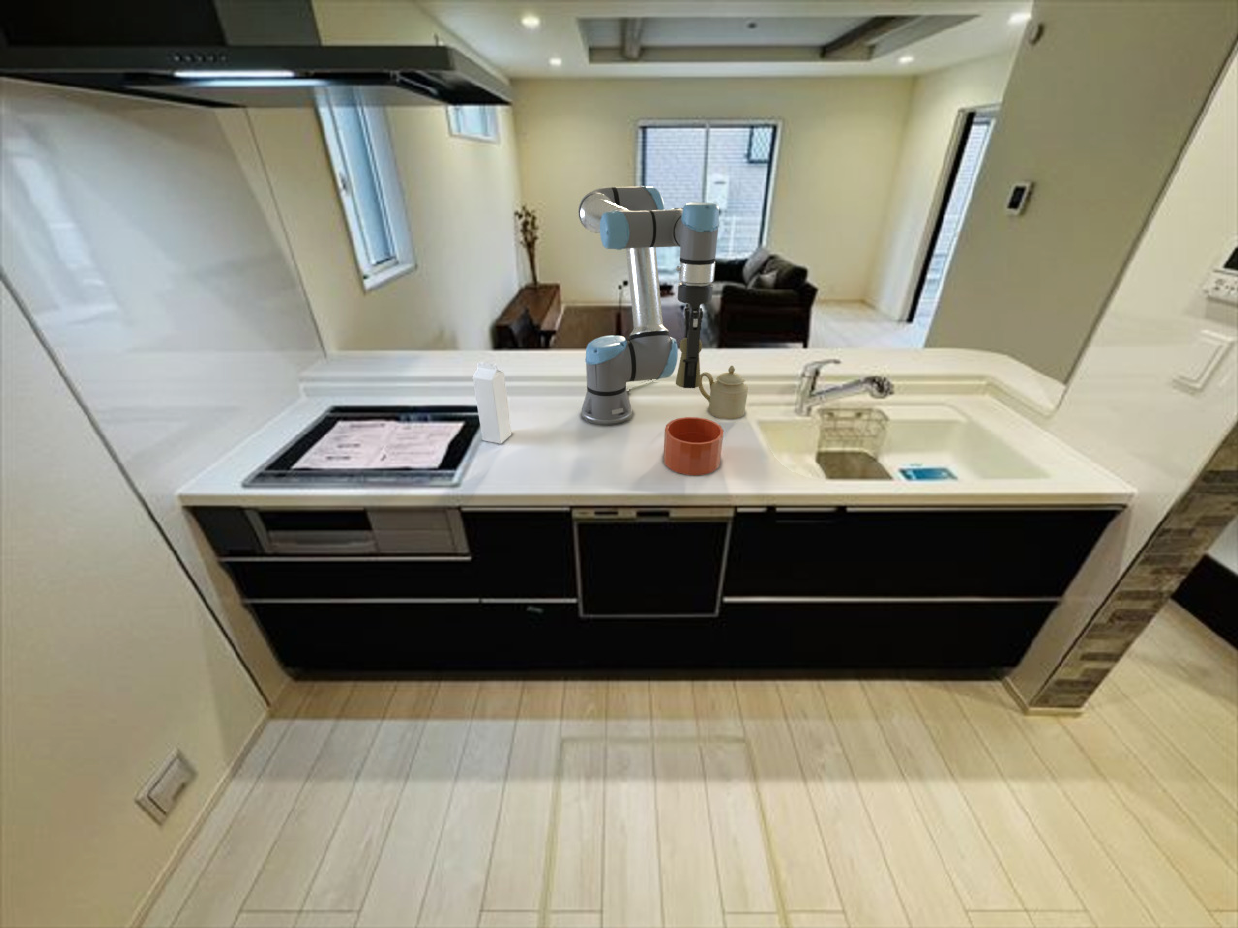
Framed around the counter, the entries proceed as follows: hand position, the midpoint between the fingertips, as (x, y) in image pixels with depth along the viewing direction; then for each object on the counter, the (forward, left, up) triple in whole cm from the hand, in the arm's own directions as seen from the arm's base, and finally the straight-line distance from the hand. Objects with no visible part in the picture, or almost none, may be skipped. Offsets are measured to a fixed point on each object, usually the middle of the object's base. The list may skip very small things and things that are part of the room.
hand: (688, 381), depth 124 cm
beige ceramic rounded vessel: (-30, +13, -22) cm, 39 cm away
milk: (-10, -52, -22) cm, 57 cm away
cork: (0, 0, -1) cm, 1 cm away
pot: (0, +2, -22) cm, 22 cm away
